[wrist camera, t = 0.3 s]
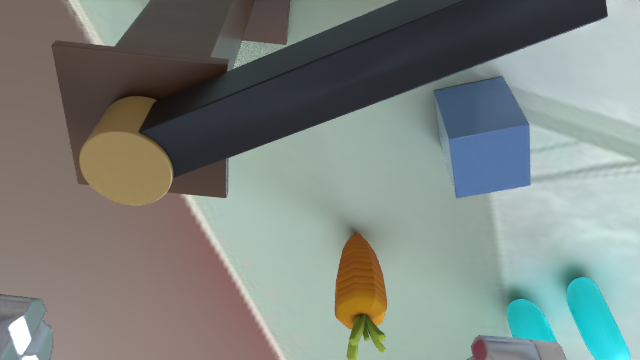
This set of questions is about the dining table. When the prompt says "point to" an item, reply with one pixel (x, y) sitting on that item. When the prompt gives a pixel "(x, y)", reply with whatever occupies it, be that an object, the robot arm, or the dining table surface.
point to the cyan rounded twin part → (586, 314)
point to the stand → (163, 66)
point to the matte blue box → (483, 137)
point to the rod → (311, 86)
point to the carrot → (360, 294)
